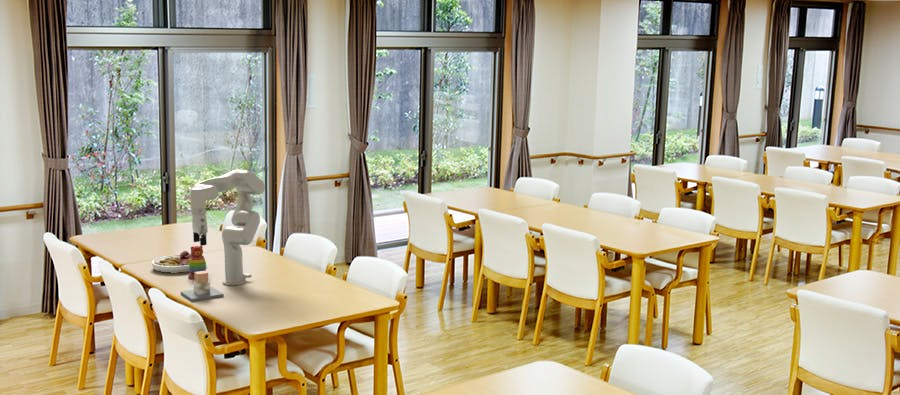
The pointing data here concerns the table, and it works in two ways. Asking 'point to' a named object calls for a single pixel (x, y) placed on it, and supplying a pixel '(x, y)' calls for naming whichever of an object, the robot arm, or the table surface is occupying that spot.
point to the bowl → (173, 263)
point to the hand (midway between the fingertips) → (200, 243)
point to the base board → (195, 297)
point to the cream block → (201, 288)
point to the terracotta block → (201, 277)
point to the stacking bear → (196, 261)
